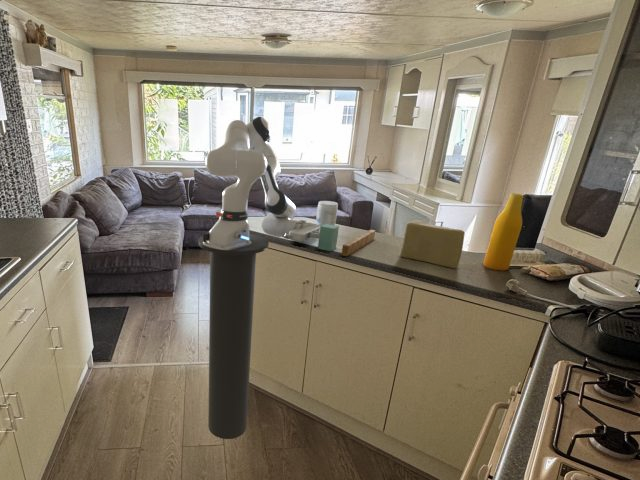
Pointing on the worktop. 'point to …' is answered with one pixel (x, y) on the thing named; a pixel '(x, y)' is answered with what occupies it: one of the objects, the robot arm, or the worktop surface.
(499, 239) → the beer bottle
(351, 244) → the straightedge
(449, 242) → the cheese
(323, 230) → the teal block
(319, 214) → the supplement tub
